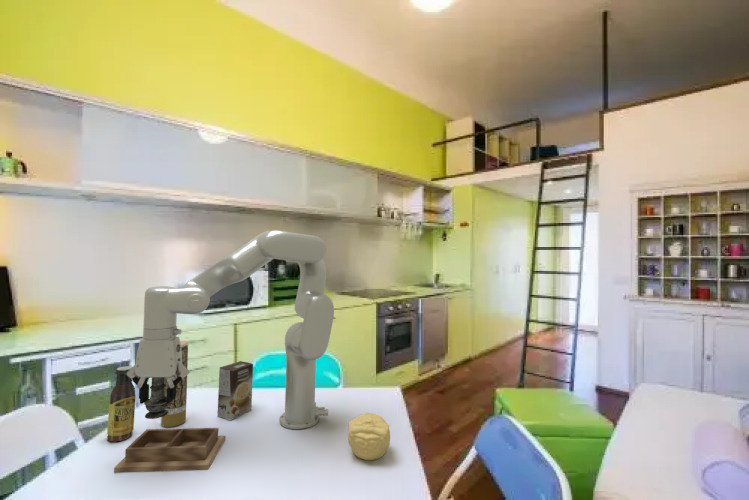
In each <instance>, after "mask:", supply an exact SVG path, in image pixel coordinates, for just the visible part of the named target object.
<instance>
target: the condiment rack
mask: <svg viewBox="0 0 749 500" xmlns="http://www.w3.org/2000/svg"><path fill="white" fill-rule="evenodd" d="M219 430H220V429H219V427H202V428H201V427H195V428H193V427H192V428H191V427H190V428H189V427H188V428H185V427H184V428H155V429H154V428H152V429H151V428H149V429H148V428H147V429H146V430H143V431H144V432H142V433H141V434H140V435H139V436H138V437H137V438H136V439H135V440H134V441H132V443H130V444H129V445H128V447H126V448H125V450H124V451H125V456H124V457H123V458H122V459H121V461H119V462H118V463H117V464H116V465H115V466H114V467H113V473H137V472H138V473H141V472H144V473H145V472H167V471H168V472H172V471H173V472H175V471H199V470H200V471H201V470H202V471H203V470H204V471H205V470H206V471H207V470H209V468H210V467H211V465H212V463H213V461H214V460H215V458H216V457H217V455H218V453H219V451H220V450H221V448H222V446H223V445H224V443H225V441H226V435H219Z"/></svg>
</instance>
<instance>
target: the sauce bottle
mask: <svg viewBox="0 0 749 500" xmlns="http://www.w3.org/2000/svg"><path fill="white" fill-rule="evenodd" d="M132 367H133V366H130V365H129V366H128V365H127V366H120V367H117V368H116V370H115V374H116V380H115V386H114V387H113V388H112V391H111V392H110V399H109V402H108V403H109V404H108V417H107V418H108V419H107V431H106V435H107V437H106V438H107V441H108V442H111V443H112V442H120V441H124V440H127V439H128V438H131V437H132V435H133V430H134V429H135V428H134V427H135V426H134V424H135V410H136V409H135V408H136V399H137V398H136V396H137V395H136V388H135V386H134V384H133V381H132V379H131V378H130V377H129V376H127V372H128V371H129V370H130V369H131V368H132Z"/></svg>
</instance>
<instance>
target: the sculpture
mask: <svg viewBox="0 0 749 500" xmlns="http://www.w3.org/2000/svg"><path fill="white" fill-rule="evenodd" d="M347 439H348V444H349V447H350V449H351V451H352V453H353V454H354V455H355V456H356V457H357V458H359V459H361V460H365V461H375V459H376V460H378V459H380V458H382V457H383V456H384V455H385V453H387V451H388V449H389V446H390V443H391V431H390V425H389V423H388V422H387V421H386V420H385V419H384V418H383V417H382V416H380V415H379V414H376V413H370V412H369V413H362V414H361V413H360V414H359V415H358V417H355V418H354V419H352V420H350V421H349V422H348V434H347Z"/></svg>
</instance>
